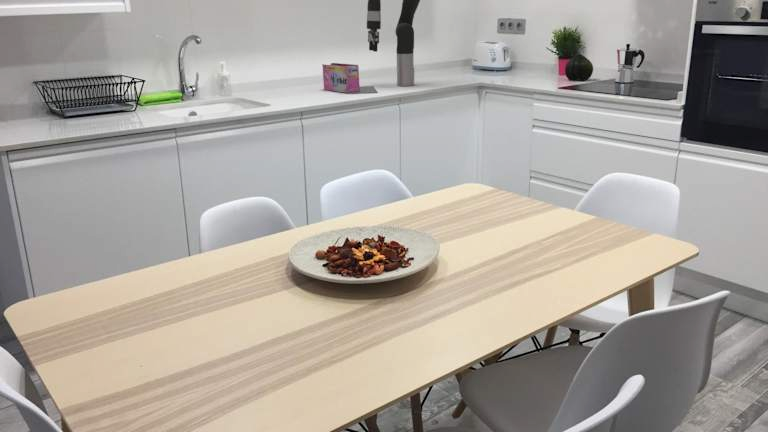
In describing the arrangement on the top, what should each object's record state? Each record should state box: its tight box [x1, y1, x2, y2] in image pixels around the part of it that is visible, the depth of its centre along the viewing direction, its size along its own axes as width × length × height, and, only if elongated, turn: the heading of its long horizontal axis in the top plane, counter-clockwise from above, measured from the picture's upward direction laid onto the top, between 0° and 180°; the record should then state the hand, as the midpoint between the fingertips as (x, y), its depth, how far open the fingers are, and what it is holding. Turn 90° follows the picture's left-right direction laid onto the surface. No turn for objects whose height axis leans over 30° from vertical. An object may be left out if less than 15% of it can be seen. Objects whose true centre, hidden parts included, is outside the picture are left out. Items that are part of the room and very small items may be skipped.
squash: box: [564, 53, 594, 82], centre depth 379 cm, size 14×15×15 cm
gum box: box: [322, 62, 361, 94], centre depth 361 cm, size 24×8×14 cm, turn 39°
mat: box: [351, 85, 378, 95], centre depth 364 cm, size 13×26×1 cm, turn 6°
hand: (373, 50), depth 371 cm, fingers open, 8 cm apart
